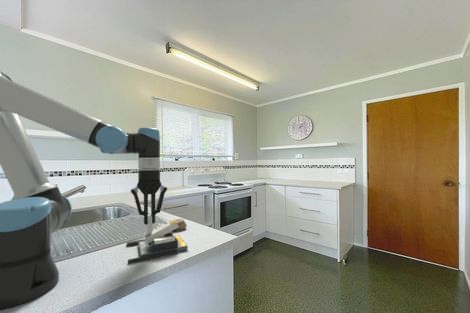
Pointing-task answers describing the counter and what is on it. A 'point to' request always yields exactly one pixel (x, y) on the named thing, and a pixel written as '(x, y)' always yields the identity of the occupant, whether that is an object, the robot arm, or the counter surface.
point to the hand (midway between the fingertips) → (149, 232)
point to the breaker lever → (161, 231)
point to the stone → (180, 224)
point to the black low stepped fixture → (132, 243)
